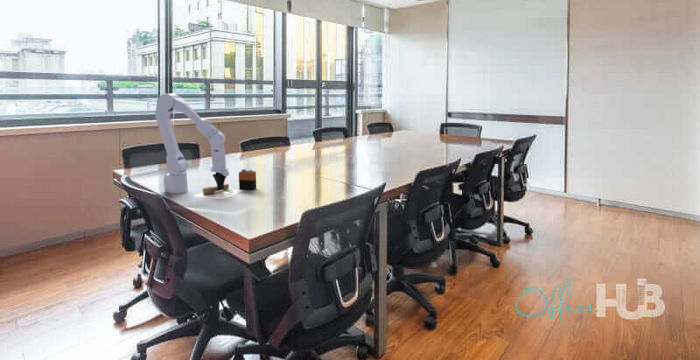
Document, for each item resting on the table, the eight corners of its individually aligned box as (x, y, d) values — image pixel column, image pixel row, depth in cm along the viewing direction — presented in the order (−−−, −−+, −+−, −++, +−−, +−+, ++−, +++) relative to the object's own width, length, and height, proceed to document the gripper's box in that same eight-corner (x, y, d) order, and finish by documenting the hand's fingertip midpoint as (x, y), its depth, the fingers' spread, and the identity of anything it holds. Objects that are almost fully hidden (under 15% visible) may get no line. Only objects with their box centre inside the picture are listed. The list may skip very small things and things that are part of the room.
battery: (243, 189, 201) (242, 168, 199) (256, 190, 200) (256, 169, 198) (239, 191, 197) (238, 170, 195) (252, 192, 196) (251, 171, 194)
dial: (208, 195, 185) (208, 190, 185) (200, 194, 188) (200, 188, 187) (231, 189, 196) (231, 184, 195) (224, 188, 198) (223, 183, 198)
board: (192, 198, 184) (192, 195, 184) (216, 189, 200) (216, 187, 200) (223, 201, 180) (222, 198, 180) (244, 192, 196) (244, 189, 195)
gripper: (234, 160, 186) (236, 190, 189) (220, 156, 197) (221, 185, 200) (219, 162, 182) (221, 193, 185) (205, 158, 193) (207, 187, 195)
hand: (220, 189), depth 192 cm, fingers closed, pressing on dial
